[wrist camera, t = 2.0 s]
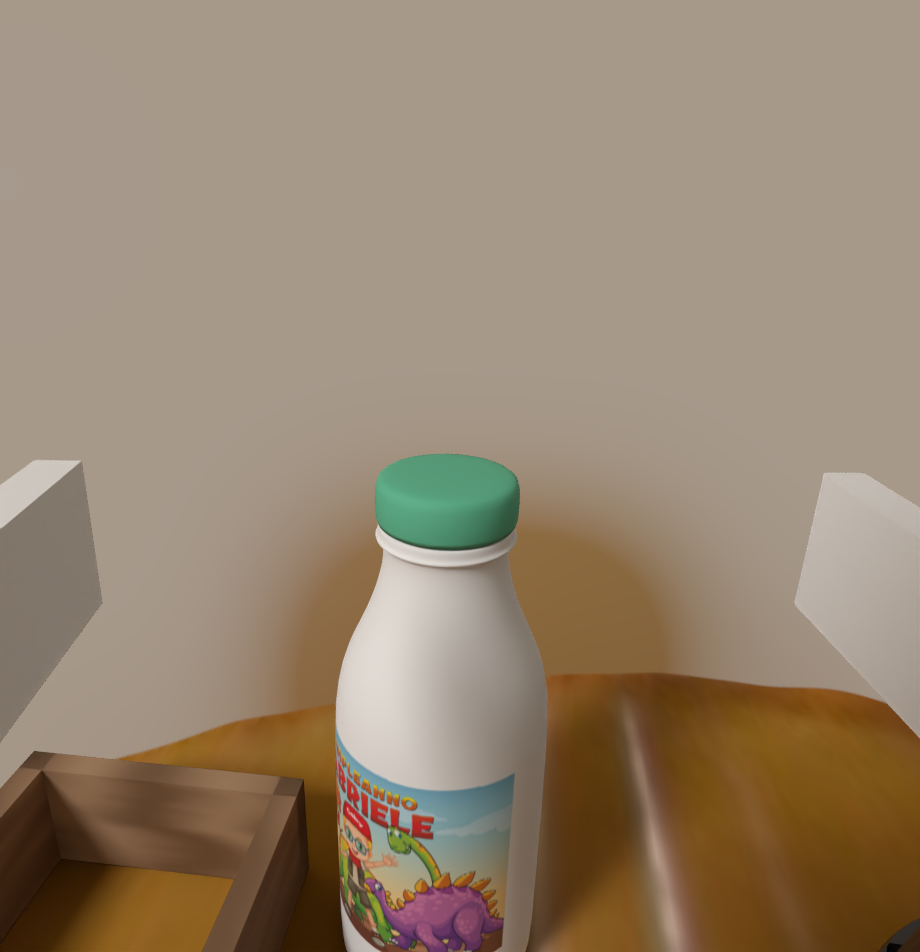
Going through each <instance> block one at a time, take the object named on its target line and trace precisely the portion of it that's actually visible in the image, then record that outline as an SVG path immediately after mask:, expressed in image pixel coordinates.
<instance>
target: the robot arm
mask: <svg viewBox="0 0 920 952" xmlns="http://www.w3.org/2000/svg"><path fill="white" fill-rule="evenodd" d="M101 604H102V597H101V590H100V583H99V576H98V569H97V563H96V555H95V548H94V542H93V535H92V528H91V522H90V514H89V508H88V500H87V494H86V486H85V480H84V473H83V466H82V461H64V460H34V461H33V462H31V463H30V464H29V465H27V466H26V467H25V468H23V469H22V470H21V471H19V472H18V473H16V474H15V475H14V476H12V477H11V478H10V479H8V480H7V481H5V482H4V483H3V484H1V485H0V742H1V741H2V739H3V738H4V737H5V735H6V734H7V733H8V731H9V730H10V729H11V727H12V726H13V724H14V723H15V722H16V720H17V719H18V718H19V716H20V715H21V714H22V712H23V711H24V710H25V708H26V707H27V705H28V704H29V703H30V701H31V700H32V699H33V697H34V696H35V694H36V693H37V692H38V690H39V689H40V688H41V686H42V685H43V684H44V682H45V681H46V679H47V678H48V677H49V675H50V674H51V673H52V671H53V670H54V668H55V667H56V666H57V664H58V663H59V662H60V660H61V659H62V657H63V656H64V655H65V653H66V652H67V651H68V649H69V648H70V646H71V645H72V644H73V643H74V641H75V640H76V638H77V637H78V636H79V634H80V633H81V632H82V630H83V629H84V627H85V626H86V625H87V623H88V622H89V621H90V619H91V618H92V616H93V615H94V613H95V612H96V611H97V610H98V608H99V607H100V606H101ZM794 604H795V606H796V607H797V608H798V609H799V610H800V611H801V612H802V613H803V614H804V615H805V616H806V617H807V618H808V619H809V620H810V622H811V623H812V624H813V625H814V626H815V627H816V628H817V629H818V630H819V631H820V632H821V633H822V634H823V635H824V636H825V638H826V639H827V640H828V641H829V642H830V643H831V644H832V645H833V646H834V647H835V648H836V649H837V650H838V651H839V652H840V654H841V655H842V656H843V657H844V658H845V659H846V660H847V661H848V662H849V663H850V664H851V665H852V666H853V667H854V668H855V669H856V671H857V672H858V673H859V674H860V675H861V676H862V677H863V678H864V679H865V680H866V681H867V682H868V683H869V684H870V685H871V687H872V688H873V689H874V690H875V691H876V692H877V693H878V694H879V695H880V696H881V697H882V698H883V699H884V700H885V702H886V703H887V704H888V705H889V706H890V707H891V708H892V709H893V710H894V711H895V712H896V713H897V714H898V715H899V717H900V718H901V719H902V720H903V721H904V722H905V723H906V724H907V725H908V726H909V727H910V728H911V729H912V730H913V731H914V733H915V734H916V735H917V736H918V737H919V738H920V508H919V507H918V506H916V505H915V504H913V503H911V502H910V501H908V500H906V499H905V498H903V497H902V496H900V495H898V494H897V493H895V492H894V491H892V490H890V489H889V488H887V487H885V486H884V485H882V484H881V483H879V482H877V481H876V480H874V479H872V478H871V477H869V476H868V475H866V474H864V473H824V476H823V480H822V484H821V489H820V493H819V498H818V502H817V507H816V511H815V515H814V519H813V524H812V528H811V532H810V537H809V542H808V546H807V550H806V554H805V559H804V563H803V567H802V572H801V576H800V581H799V585H798V589H797V594H796V598H795V603H794ZM878 952H920V919H917V920H915V921H913V922H911V923H910V924H908V925H907V926H905V927H903V928H902V929H901V930H900V931H898V932H897V933H896V934H894V935H893V936H892V937H891V938H890V939H889V940H888V941H887V942H886V943H885V944H884V945H883V946H882V947H881V948H880V950H879V951H878Z"/></svg>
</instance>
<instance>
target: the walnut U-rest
mask: <svg viewBox="0 0 920 952" xmlns="http://www.w3.org/2000/svg"><path fill="white" fill-rule="evenodd" d="M60 859H69V860H77V861H86V862H94V863H103V864H111V865H120V866H128V867H137V868H145V869H154V870H163V871H171V872H180V873H188V874H197V875H205V876H214V877H222V878H231V879H234V882H233V884H232V886H231V888H230V890H229V893H228V895H227V897H226V899H225V902H224V904H223V906H222V908H221V911H220V913H219V915H218V917H217V919H216V922H215V924H214V926H213V928H212V931H211V933H210V935H209V937H208V939H207V942H206V944H205V946H204V948H203V951H202V952H280V949H281V946H282V943H283V940H284V938H285V935H286V932H287V929H288V926H289V923H290V920H291V917H292V915H293V912H294V909H295V906H296V903H297V900H298V897H299V894H300V892H301V889H302V886H303V883H304V880H305V877H306V874H307V871H308V869H309V861H308V844H307V827H306V810H305V793H304V779H297V778H287V777H278V776H268V775H259V774H249V773H240V772H230V771H220V770H211V769H201V768H192V767H182V766H172V765H163V764H153V763H144V762H134V761H124V760H115V759H105V758H96V757H86V756H76V755H67V754H56V753H47V752H38V751H34V752H33V753H32V754H31V755H30V756H29V757H28V759H27V760H26V761H25V762H24V763H23V764H22V765H21V766H20V767H19V769H18V770H17V771H16V772H15V773H14V774H13V775H12V776H11V777H10V778H9V780H8V781H7V782H6V783H5V784H4V785H3V786H2V787H1V789H0V943H1V941H2V940H3V939H4V937H5V936H6V934H7V933H8V932H9V930H10V929H11V927H12V926H13V925H14V923H15V922H16V921H17V919H18V918H19V916H20V915H21V914H22V912H23V911H24V909H25V908H26V907H27V905H28V904H29V902H30V901H31V900H32V898H33V897H34V896H35V894H36V893H37V891H38V890H39V889H40V887H41V886H42V884H43V883H44V882H45V880H46V879H47V877H48V876H49V875H50V873H51V872H52V871H53V869H54V868H55V866H56V865H57V864H58V862H59V861H60Z"/></svg>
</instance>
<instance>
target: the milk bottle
mask: <svg viewBox="0 0 920 952" xmlns="http://www.w3.org/2000/svg"><path fill="white" fill-rule="evenodd" d="M519 501H520V489H519V484H518V480H517V477H516V476H515V475H514V473H512V472H511V471H510V470H509V469H507V468H506V467H504V466H503V465H501V464H499V463H496V462H493V461H491V460H487V459H484V458H479V457H473V456H468V455H459V454H430V455H421V456H415V457H410V458H406V459H402V460H399V461H397V462H395V463H392V464H391V465H389V466H387V467H386V468H385V469H383V470H382V471H381V472H380V474H379V476H378V478H377V482H376V487H375V511H376V519H377V522H378V527H377V529H376V538H377V541H378V543H379V545H380V546H381V547H382V548H383V561H382V566H381V570H380V574H379V577H378V581H377V584H376V587H375V589H374V592H373V595H372V597H371V599H370V602H369V604H368V606H367V608H366V610H365V612H364V614H363V616H362V618H361V620H360V622H359V624H358V626H357V628H356V629H355V632H354V634H353V636H352V638H351V640H350V643H349V646H348V648H347V651H346V654H345V657H344V660H343V664H342V668H341V672H340V677H339V683H338V692H337V700H336V785H337V820H338V847H339V873H340V897H341V916H342V928H343V937H344V942H345V946H346V949H347V952H525V951H526V948H527V944H528V940H529V935H530V928H531V921H532V912H533V901H534V890H535V880H536V868H537V857H538V846H539V834H540V823H541V811H542V798H543V785H544V772H545V759H546V742H547V715H548V704H547V689H546V680H545V674H544V668H543V664H542V660H541V657H540V653H539V650H538V647H537V644H536V642H535V639H534V637H533V634H532V632H531V629H530V627H529V625H528V623H527V621H526V618H525V616H524V614H523V612H522V609H521V607H520V604H519V602H518V599H517V596H516V593H515V589H514V586H513V582H512V578H511V573H510V568H509V560H508V554H509V551H510V550H511V549H512V548H513V547H514V545H515V543H516V541H517V532H516V530H515V526H516V523H517V521H518V513H519V504H520V502H519Z"/></svg>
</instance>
